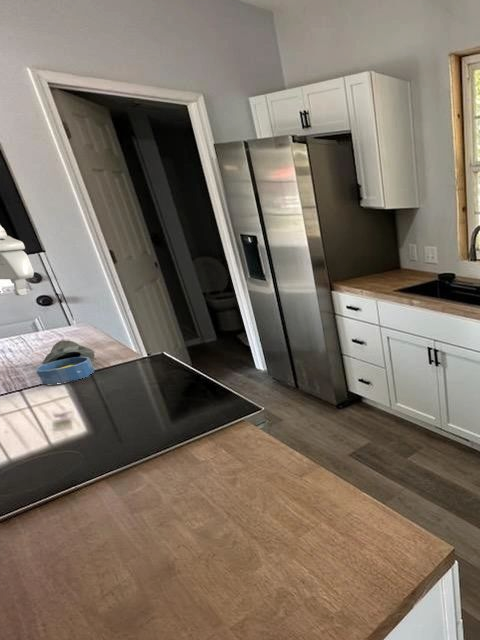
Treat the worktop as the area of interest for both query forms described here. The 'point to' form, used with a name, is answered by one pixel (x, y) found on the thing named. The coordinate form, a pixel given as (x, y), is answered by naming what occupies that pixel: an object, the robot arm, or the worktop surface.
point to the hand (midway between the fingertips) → (9, 294)
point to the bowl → (65, 370)
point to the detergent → (68, 351)
